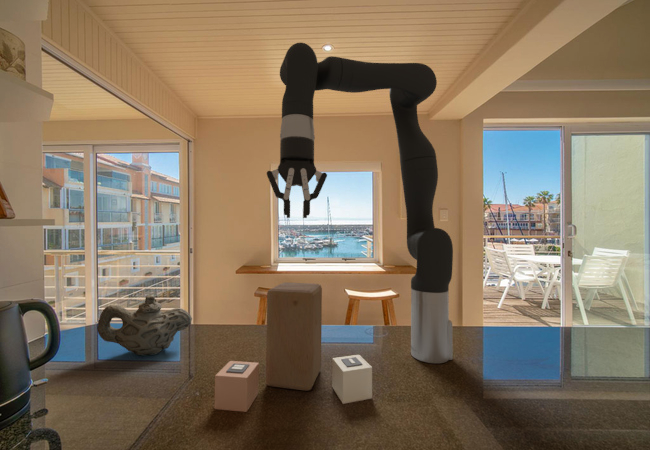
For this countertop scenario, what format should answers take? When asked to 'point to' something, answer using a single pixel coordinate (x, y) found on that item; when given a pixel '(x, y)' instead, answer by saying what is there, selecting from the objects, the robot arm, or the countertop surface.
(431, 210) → the robot arm
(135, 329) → the teapot
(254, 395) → the pink cube
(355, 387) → the cream cube
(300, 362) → the wooden block
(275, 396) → the countertop surface
